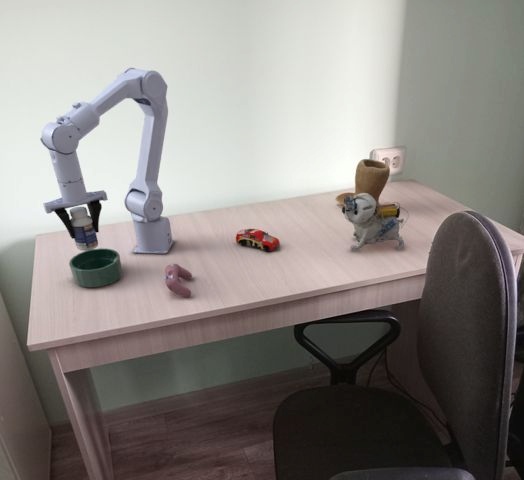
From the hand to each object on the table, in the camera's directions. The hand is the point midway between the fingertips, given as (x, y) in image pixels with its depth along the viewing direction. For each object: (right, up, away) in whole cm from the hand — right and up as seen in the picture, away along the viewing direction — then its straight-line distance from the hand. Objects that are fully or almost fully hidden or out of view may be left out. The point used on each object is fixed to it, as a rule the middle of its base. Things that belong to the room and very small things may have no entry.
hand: (84, 234), depth 123 cm
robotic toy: (+74, -1, +13) cm, 75 cm away
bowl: (+2, -10, +4) cm, 11 cm away
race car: (+43, 0, +16) cm, 46 cm away
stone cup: (+76, +16, +34) cm, 85 cm away
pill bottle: (0, -3, +2) cm, 4 cm away
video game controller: (+24, -14, -2) cm, 28 cm away
